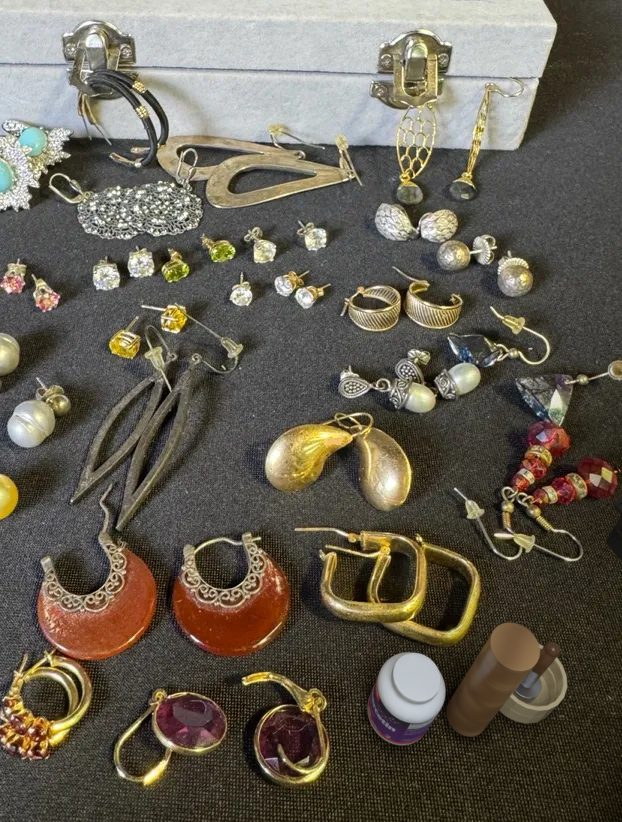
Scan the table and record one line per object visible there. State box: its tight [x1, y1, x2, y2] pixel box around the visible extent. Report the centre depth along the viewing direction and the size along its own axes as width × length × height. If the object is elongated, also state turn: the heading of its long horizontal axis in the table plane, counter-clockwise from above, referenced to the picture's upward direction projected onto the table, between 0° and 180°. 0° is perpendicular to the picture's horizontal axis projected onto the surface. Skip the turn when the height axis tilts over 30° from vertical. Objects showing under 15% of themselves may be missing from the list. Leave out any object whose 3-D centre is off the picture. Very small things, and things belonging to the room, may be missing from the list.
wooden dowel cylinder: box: [445, 621, 540, 738], centre depth 95 cm, size 5×5×24 cm
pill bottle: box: [366, 651, 446, 746], centre depth 99 cm, size 8×8×14 cm
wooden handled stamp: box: [513, 640, 561, 704], centre depth 100 cm, size 4×4×15 cm
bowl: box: [498, 643, 568, 725], centre depth 104 cm, size 9×9×6 cm
